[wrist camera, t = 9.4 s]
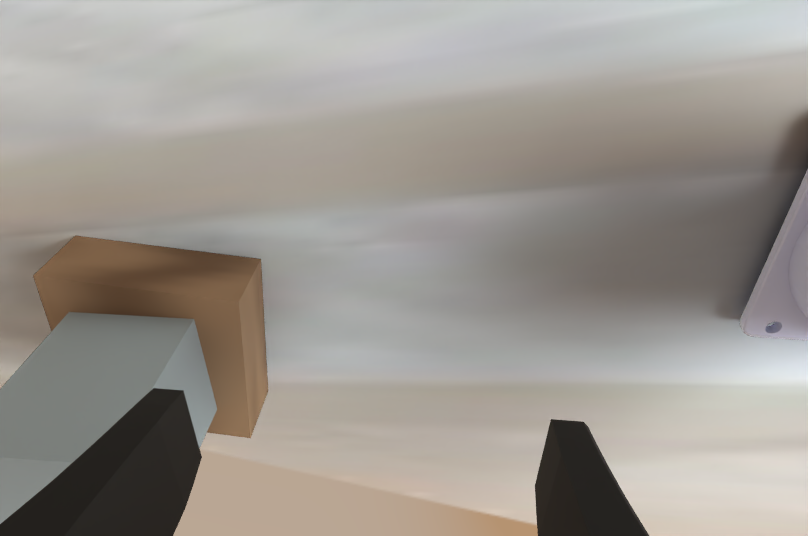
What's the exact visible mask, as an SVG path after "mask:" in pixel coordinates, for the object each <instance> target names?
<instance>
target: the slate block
mask: <svg viewBox="0 0 808 536" xmlns="http://www.w3.org/2000/svg"><path fill="white" fill-rule="evenodd" d="M153 388H159V389H172V390H184V394H185V398H186V401H187V405H188V409H189V412H190V416H191V420H192V423H193V427H194V431H195V434H196V438H197V442H198V445H199V448H200V446H201V444H202V442H203V439H204V437H205V435H206V433H207V431H208V428H209V426H210V424H211V422H212V420H213V418H214V415H215V413H216V411H217V406H216V402H215V398H214V394H213V390H212V386H211V383H210V379H209V375H208V371H207V367H206V363H205V359H204V355H203V352H202V348H201V344H200V340H199V336H198V332H197V328H196V325H195V321H194V319H185V318H167V317H149V316H131V315H113V314H96V313H78V312H69V313H68V314H67V315H66V316H65V317H64V318H63V319H62V320H61V322H60V323H59V324H58V325H57V326H56V327H55V328H54V329H53V331H52V332H51V333H50V334H49V335H48V336H47V337H46V338H45V339H44V341H43V342H42V343H41V344H40V345H39V346H38V347H37V348H36V350H35V351H34V352H33V353H32V354H31V355H30V356H29V357H28V358H27V360H26V361H25V362H24V363H23V364H22V365H21V366H20V367H19V369H18V370H17V371H16V372H15V373H14V374H13V375H12V376H11V377H10V379H9V380H8V381H7V382H6V383H5V384H4V385H3V386H2V388H1V389H0V524H1V523H2V522H3V521H4V520H6V519H7V518H8V517H9V516H11V515H12V514H13V513H14V512H15V511H17V510H18V509H19V508H20V507H21V506H23V505H24V504H25V503H26V502H27V501H29V500H30V499H31V498H32V497H33V496H35V495H36V494H37V493H38V492H39V491H41V490H42V489H43V488H44V487H45V486H47V485H48V484H49V483H50V482H51V481H52V480H53V479H55V478H56V477H57V476H58V475H59V474H60V473H61V472H62V471H64V470H65V469H66V468H67V467H68V466H69V465H70V464H71V463H73V462H74V461H75V460H76V459H77V458H78V457H79V456H80V455H81V454H83V453H84V452H85V451H86V450H87V449H88V448H89V447H90V446H91V445H93V444H94V443H95V442H96V441H97V440H98V439H99V438H100V437H101V436H102V435H103V434H104V433H106V432H107V431H108V430H109V429H110V428H111V427H112V426H113V425H114V424H115V423H116V422H117V421H118V420H119V419H121V418H122V417H123V416H124V415H125V414H126V413H127V412H128V411H129V410H130V409H131V408H132V407H133V406H134V405H135V404H137V403H138V402H139V401H140V400H141V399H142V398H143V397H144V396H145V395H146V394H148V393H149V392H150V391H151V390H152V389H153Z"/></svg>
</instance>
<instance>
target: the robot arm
mask: <svg viewBox="0 0 808 536" xmlns="http://www.w3.org/2000/svg"><path fill="white" fill-rule="evenodd" d="M772 322H775V323H774V324H773V325H771V326H767V325H768V324H770V323H772ZM739 324H740V326H741V328H742V330H743V331H744V333H745V334H747V335H749V336H753V337H767V338H781V339H796V340H808V169H807V171H806V174H805V176H804V178H803V180H802V183H801V185H800V187H799V189H798V192H797V194H796V196H795V198H794V200H793V203H792V205H791V207H790V209H789V212H788V214H787V216H786V218H785V220H784V223H783V225H782V227H781V229H780V232H779V234H778V236H777V238H776V241H775V243H774V245H773V247H772V249H771V252H770V254H769V256H768V258H767V261H766V263H765V265H764V267H763V269H762V272H761V274H760V276H759V278H758V281H757V283H756V285H755V287H754V290H753V292H752V294H751V296H750V298H749V301H748V303H747V305H746V307H745V310H744V312H743V314H742V316H741V318H740V323H739ZM201 458H202V456H201V453H200V449H199V445H198V442H197V438H196V434H195V431H194V427H193V423H192V420H191V416H190V412H189V409H188V405H187V401H186V398H185V394H184V390H172V389H159V388H153V389H152V390H151V391H150V392H149V393H148V394H146V395H145V396H144V397H143V398H142V399H141V400H140V401H139V402H138V403H137V404H135V405H134V406H133V407H132V408H131V409H130V410H129V411H128V412H127V413H126V414H125V415H124V416H123V417H122V418H121V419H119V420H118V421H117V422H116V423H115V424H114V425H113V426H112V427H111V428H110V429H109V430H108V431H107V432H106V433H104V434H103V435H102V436H101V437H100V438H99V439H98V440H97V441H96V442H95V443H94V444H93V445H91V446H90V447H89V448H88V449H87V450H86V451H85V452H84V453H83V454H81V455H80V456H79V457H78V458H77V459H76V460H75V461H74V462H73V463H71V464H70V465H69V466H68V467H67V468H66V469H65V470H64V471H62V472H61V473H60V474H59V475H58V476H57V477H56V478H55V479H53V480H52V481H51V482H50V483H49V484H48V485H47V486H45V487H44V488H43V489H42V490H41V491H39V492H38V493H37V494H36V495H35V496H33V497H32V498H31V499H30V500H29V501H27V502H26V503H25V504H24V505H23V506H21V507H20V508H19V509H18V510H17V511H15V512H14V513H13V514H12V515H11V516H9V517H8V518H7V519H6V520H4V521H3V522H2V523H1V524H0V536H173V534H174V532H175V529H176V528H177V525H178V523H179V521H180V519H181V516H182V514H183V512H184V510H185V507H186V504H187V501H188V498H189V495H190V493H191V490H192V487H193V484H194V480H195V477H196V474H197V470H198V467H199V464H200V461H201ZM535 494H536V513H537V528H538V536H649V535H648V533H647V531H646V530H645V528H644V527H643V525H642V523H641V522H640V520H639V518H638V517H637V515H636V514H635V512H634V510H633V509H632V507H631V505H630V504H629V502H628V500H627V499H626V497H625V495H624V493H623V492H622V490H621V488H620V486H619V485H618V483H617V481H616V479H615V478H614V476H613V474H612V472H611V470H610V469H609V467H608V465H607V463H606V461H605V459H604V457H603V455H602V454H601V452H600V450H599V448H598V446H597V444H596V442H595V440H594V438H593V436H592V434H591V432H590V430H589V428H588V426H587V425H586V424H585V423H584V422H578V421H565V420H552V419H551V422H550V426H549V430H548V434H547V438H546V442H545V447H544V451H543V455H542V459H541V463H540V467H539V471H538V475H537V480H536V484H535Z"/></svg>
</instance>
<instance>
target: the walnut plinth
mask: <svg viewBox="0 0 808 536" xmlns="http://www.w3.org/2000/svg"><path fill="white" fill-rule="evenodd" d="M33 277H34V280H35V283H36V286H37V289H38V292H39V295H40V298H41V301H42V304H43V307H44V310H45V313H46V316H47V319H48V322H49V325H50V328H51V331H53V329H54V328H55V327H56V326H57V325H58V324H59V323H60V322H61V320H62V319H63V318H64V317H65V316H66V315H67V314H68V313H69V312H78V313H96V314H113V315H131V316H149V317H167V318H185V319H194V321H195V325H196V328H197V332H198V336H199V340H200V344H201V348H202V352H203V355H204V359H205V363H206V367H207V371H208V375H209V379H210V383H211V386H212V390H213V394H214V398H215V402H216V406H217V411H216V413H215V415H214V418H213V420H212V422H211V424H210V426H209V428H208V431H207V432H209V433H216V434H224V435H231V436H239V437H247V438H251V435H252V433H253V430H254V427H255V425H256V422H257V419H258V417H259V414H260V411H261V409H262V406H263V403H264V401H265V398H266V395H267V392H268V380H267V362H266V343H265V325H264V307H263V289H262V270H261V259H256V258H248V257H240V256H232V255H224V254H216V253H208V252H200V251H192V250H184V249H176V248H168V247H161V246H153V245H145V244H137V243H129V242H121V241H113V240H105V239H97V238H89V237H81V236H75V237H73V238H72V239H71V240H70V241H69V242H68V243H67V244H66V245H65V246H64V247H63V248H62V249H61V250H60V251H59V252H58V253H57V254H55V255H54V256H53V257H52V258H51V259H50V260H49V261H48V262H47V263H46V264H45V265H44V266H43V267H42V268H41V269H40V270H39V271H37V272H36V273H35V274H34V275H33Z"/></svg>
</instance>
